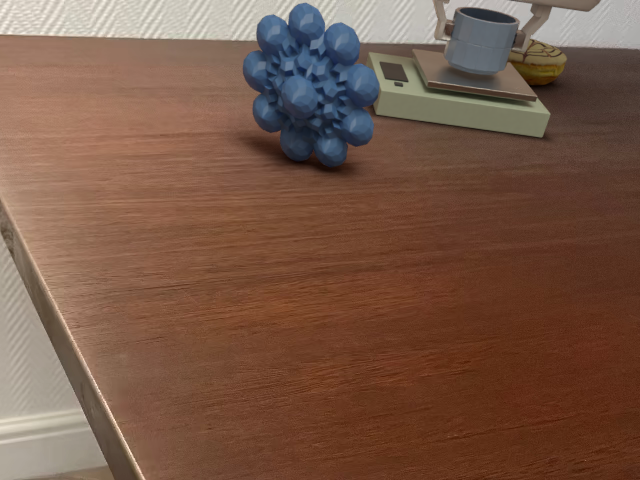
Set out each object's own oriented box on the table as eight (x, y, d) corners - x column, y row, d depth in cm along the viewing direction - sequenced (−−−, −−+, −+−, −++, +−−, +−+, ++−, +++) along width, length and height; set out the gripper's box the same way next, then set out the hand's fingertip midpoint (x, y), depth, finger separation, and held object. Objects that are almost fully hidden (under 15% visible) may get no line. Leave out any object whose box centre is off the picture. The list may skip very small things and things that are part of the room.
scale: (510, 94, 92) (518, 71, 91) (542, 137, 81) (551, 111, 80) (364, 73, 91) (369, 49, 90) (375, 114, 80) (381, 88, 79)
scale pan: (508, 68, 90) (510, 62, 89) (535, 102, 80) (537, 96, 80) (410, 54, 89) (412, 48, 89) (426, 87, 80) (428, 80, 79)
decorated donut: (511, 60, 105) (521, 29, 103) (575, 86, 99) (587, 54, 96) (453, 62, 100) (462, 30, 98) (517, 90, 94) (528, 56, 91)
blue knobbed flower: (213, 158, 66) (230, -1, 59) (244, 135, 71) (263, -14, 64) (348, 196, 63) (383, 34, 56) (370, 169, 69) (405, 17, 61)
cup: (496, 62, 87) (511, 12, 84) (509, 80, 82) (526, 27, 79) (437, 54, 86) (451, 3, 83) (447, 71, 81) (462, 18, 78)
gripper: (622, -101, 77) (568, 51, 86) (412, -133, 76) (378, 23, 85) (646, -92, 72) (586, 68, 81) (421, -127, 71) (385, 38, 80)
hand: (478, 45), depth 83 cm, fingers closed on cup, 6 cm apart
